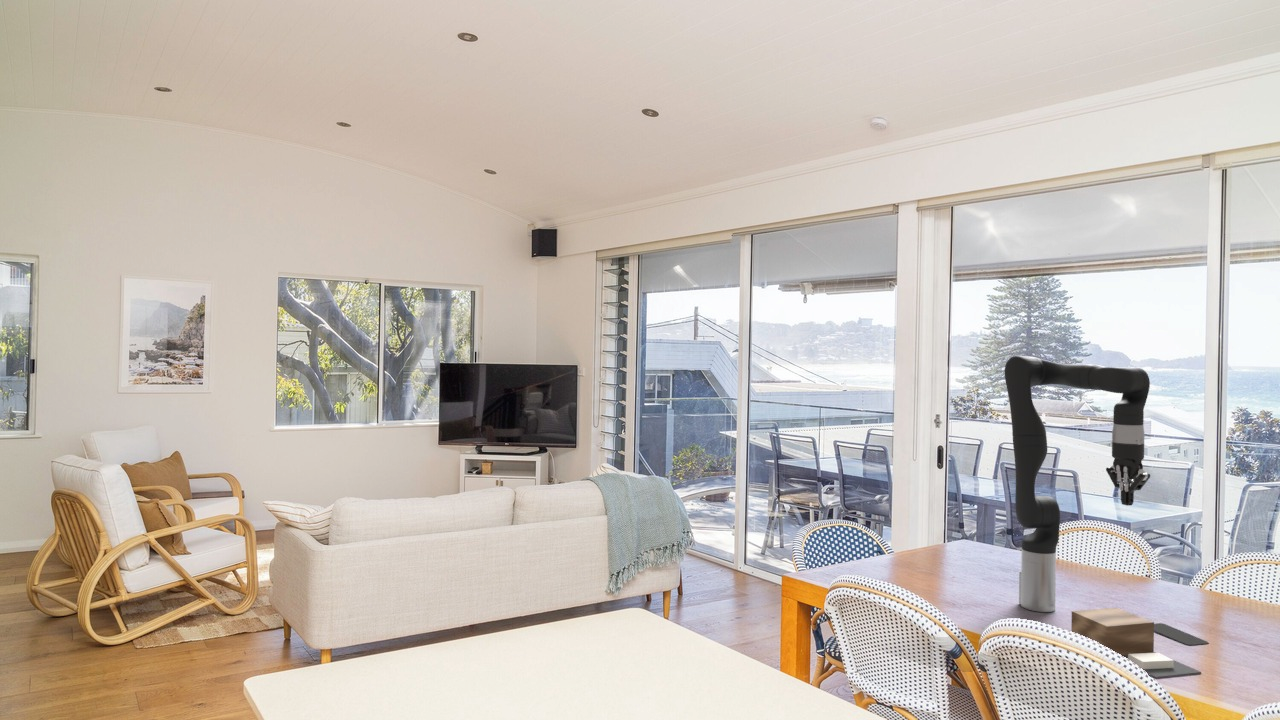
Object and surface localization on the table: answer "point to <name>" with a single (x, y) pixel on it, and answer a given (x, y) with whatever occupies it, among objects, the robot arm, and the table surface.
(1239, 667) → the table surface
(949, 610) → the table surface
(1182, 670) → the rubber mat
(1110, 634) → the brown wooden block
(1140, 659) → the card box
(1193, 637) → the smartphone
